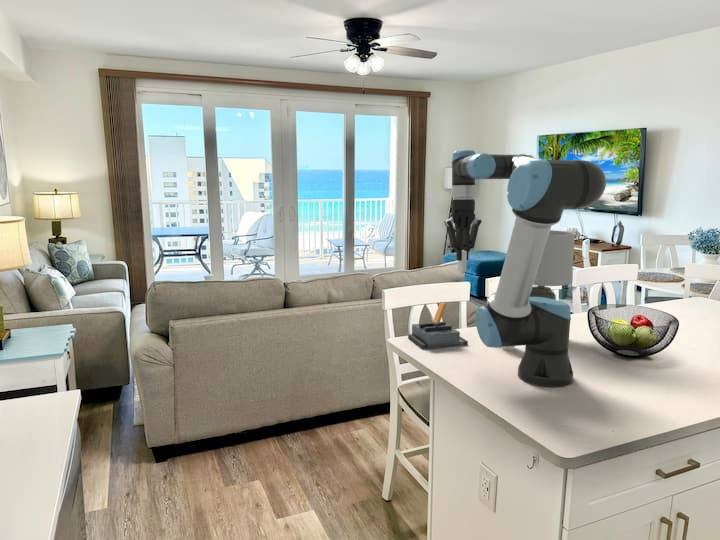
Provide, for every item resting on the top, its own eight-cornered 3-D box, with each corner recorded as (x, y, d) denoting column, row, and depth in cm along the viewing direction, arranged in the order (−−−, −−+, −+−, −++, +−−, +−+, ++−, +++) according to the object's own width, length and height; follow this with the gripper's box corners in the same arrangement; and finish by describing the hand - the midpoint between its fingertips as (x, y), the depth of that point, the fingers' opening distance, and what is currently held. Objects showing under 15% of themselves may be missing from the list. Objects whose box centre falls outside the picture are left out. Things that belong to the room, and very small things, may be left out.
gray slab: (467, 345, 182) (467, 341, 182) (459, 345, 181) (460, 341, 181) (449, 333, 195) (449, 330, 195) (442, 334, 194) (442, 331, 194)
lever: (437, 327, 184) (446, 304, 183) (435, 326, 183) (444, 303, 183) (434, 324, 187) (443, 302, 186) (431, 323, 186) (440, 301, 186)
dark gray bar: (426, 348, 178) (426, 344, 178) (422, 349, 178) (422, 345, 178) (411, 338, 190) (411, 334, 190) (408, 338, 190) (408, 334, 190)
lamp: (499, 334, 194) (503, 230, 188) (528, 324, 208) (533, 226, 201) (550, 347, 179) (557, 234, 173) (577, 335, 193) (585, 230, 186)
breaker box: (459, 345, 181) (460, 328, 180) (427, 349, 178) (427, 331, 177) (442, 334, 194) (442, 318, 193) (411, 337, 191) (412, 321, 190)
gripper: (474, 198, 177) (473, 267, 180) (440, 199, 173) (439, 269, 176) (486, 198, 170) (485, 270, 173) (451, 198, 166) (450, 272, 169)
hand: (462, 270), depth 174 cm, fingers closed
